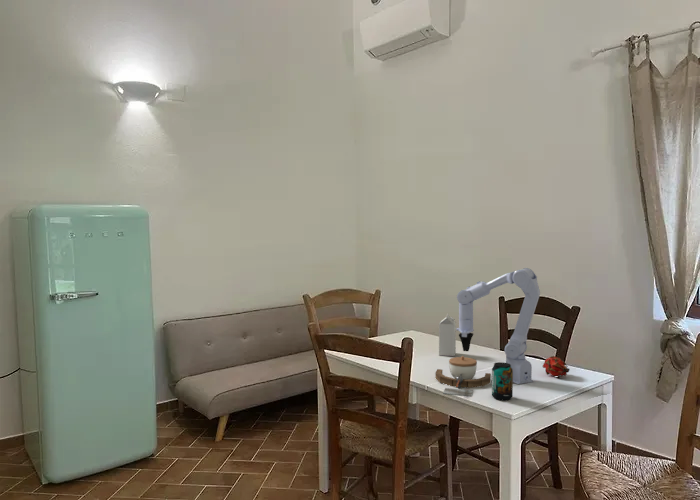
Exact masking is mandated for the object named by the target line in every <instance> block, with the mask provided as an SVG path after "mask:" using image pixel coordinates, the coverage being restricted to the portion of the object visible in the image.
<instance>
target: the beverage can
mask: <svg viewBox="0 0 700 500" xmlns="http://www.w3.org/2000/svg"><path fill="white" fill-rule="evenodd" d="M491 396H492V398H493V399H495V400H497V401H501V400H507V401H510V400H511V399H513V370H512V368H511V365H510V364H508V363H506V362H500V361H499V362H495V363H493V367H492V368H491Z"/></svg>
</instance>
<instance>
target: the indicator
mask: <svg viewBox="0 0 700 500" xmlns="http://www.w3.org/2000/svg"><path fill="white" fill-rule="evenodd" d="M456 382H457V384H456V388H458V385H459V383H463V377H462V374H460V376H457V377H456Z"/></svg>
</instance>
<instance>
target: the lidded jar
mask: <svg viewBox="0 0 700 500" xmlns="http://www.w3.org/2000/svg"><path fill="white" fill-rule="evenodd" d="M448 363H449V365H448V367H449V372H450V375H451V377H452V378H454V379H456V377H457V376H460V374H462V377H463V379H465V380H469V379H474V377H475V376H476V372H477V364H478V361H477V360H476V359H474V358H472V357H465V356H464V355H462V356H457V357H455V356H454V357H451V358H450V359H449V360H448Z"/></svg>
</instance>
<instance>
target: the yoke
mask: <svg viewBox="0 0 700 500" xmlns="http://www.w3.org/2000/svg"><path fill="white" fill-rule="evenodd" d="M434 374H435V377H434V378H436V379H437V380H438V383H440V382H441V383H440V384H442V383H444V384H443V385H445V384H447V385H446V386H449V385H450V386H449V387H445V388H444V390H443V392H442V394H443V395H453V396H462V395H465V396H464V397H472V396H473V392H474V391H473V390H471V389H472V388H482V387H485V386H487V385H490V384H491V382H492V372H490V373H488V372H485V375H484V376H482V377H479V378H472V379H469V380H465V379H463V383H459V385H458V387H457V388H450V387H453V386H456V384H457V382H456V379H455V378H454V377H450V376H446V375H444V374H443V369H441V368H440V369H439V368H437V369H436V371H435V373H434ZM436 379H435V380H436ZM437 380H436V381H437ZM464 387H466V388H468V389H463V388H464ZM458 388H461V389H458ZM470 388H471V389H470Z"/></svg>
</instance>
